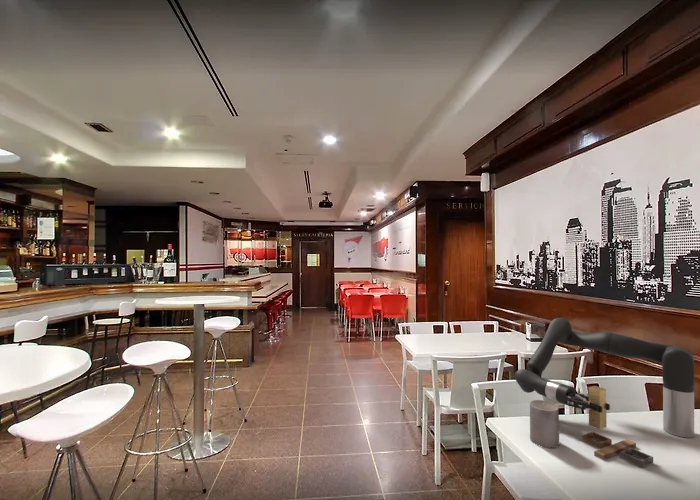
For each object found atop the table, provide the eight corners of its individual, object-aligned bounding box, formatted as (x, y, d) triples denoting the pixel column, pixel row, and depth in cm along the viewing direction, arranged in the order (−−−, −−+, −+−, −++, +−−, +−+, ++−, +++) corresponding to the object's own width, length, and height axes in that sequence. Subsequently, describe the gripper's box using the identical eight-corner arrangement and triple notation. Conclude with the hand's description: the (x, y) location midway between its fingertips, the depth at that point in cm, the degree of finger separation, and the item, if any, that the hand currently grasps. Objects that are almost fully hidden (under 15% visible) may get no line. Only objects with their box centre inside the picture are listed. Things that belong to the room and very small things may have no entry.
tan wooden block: (595, 422, 140) (594, 385, 140) (606, 427, 136) (606, 389, 137) (588, 425, 138) (588, 387, 138) (600, 429, 135) (599, 390, 135)
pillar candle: (537, 432, 145) (537, 394, 145) (564, 443, 137) (563, 402, 137) (524, 440, 139) (524, 400, 139) (551, 451, 131) (551, 409, 131)
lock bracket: (603, 433, 145) (603, 428, 145) (663, 458, 127) (663, 452, 127) (570, 444, 136) (570, 439, 136) (630, 473, 118) (630, 466, 118)
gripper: (549, 386, 147) (593, 401, 132) (571, 381, 153) (616, 394, 138) (549, 405, 147) (593, 422, 132) (571, 399, 153) (617, 415, 138)
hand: (605, 408), depth 135 cm, fingers closed on tan wooden block, 4 cm apart
